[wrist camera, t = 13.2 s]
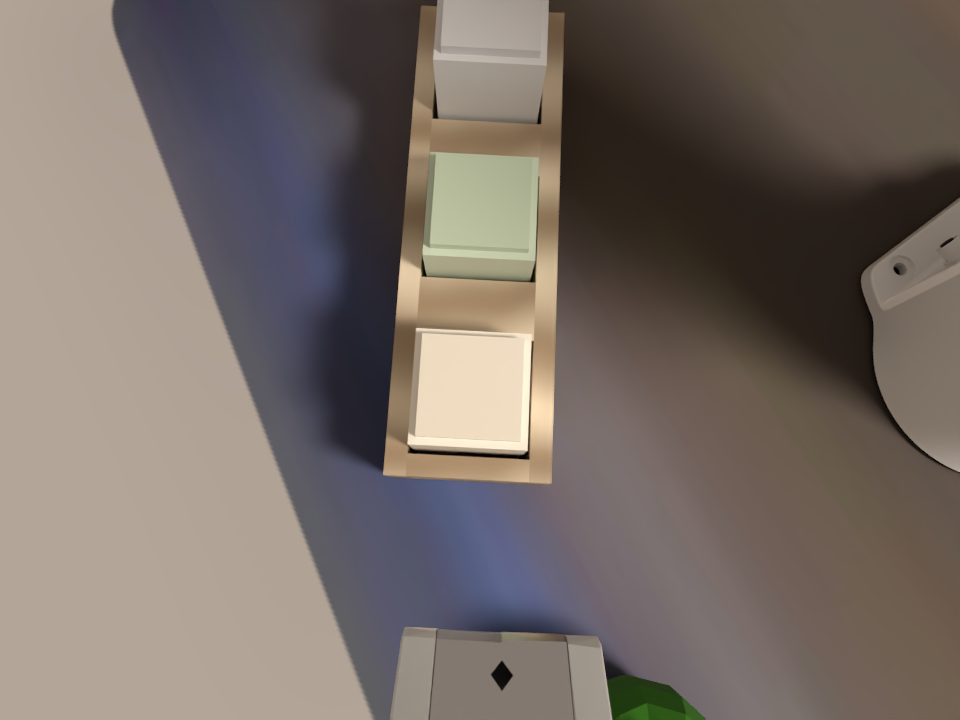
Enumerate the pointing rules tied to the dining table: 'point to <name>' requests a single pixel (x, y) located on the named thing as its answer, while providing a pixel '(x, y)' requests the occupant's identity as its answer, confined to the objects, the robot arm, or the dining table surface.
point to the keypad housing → (479, 299)
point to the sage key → (481, 217)
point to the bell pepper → (647, 701)
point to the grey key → (490, 59)
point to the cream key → (470, 393)
